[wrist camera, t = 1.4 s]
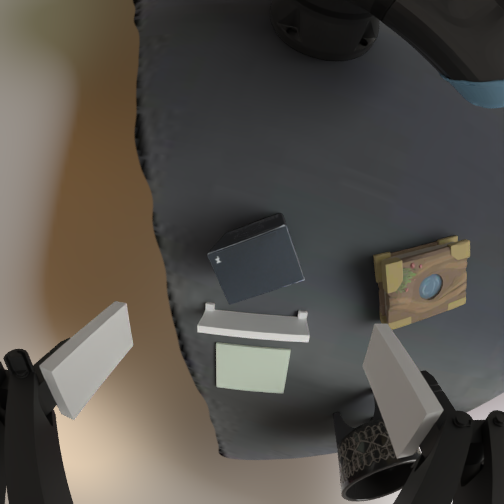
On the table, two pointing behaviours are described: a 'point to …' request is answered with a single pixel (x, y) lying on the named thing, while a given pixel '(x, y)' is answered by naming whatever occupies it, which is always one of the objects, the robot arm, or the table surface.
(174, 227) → the table surface
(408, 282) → the book
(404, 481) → the planter
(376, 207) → the table surface
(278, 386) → the pad
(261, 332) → the handle
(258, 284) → the box
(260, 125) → the table surface
